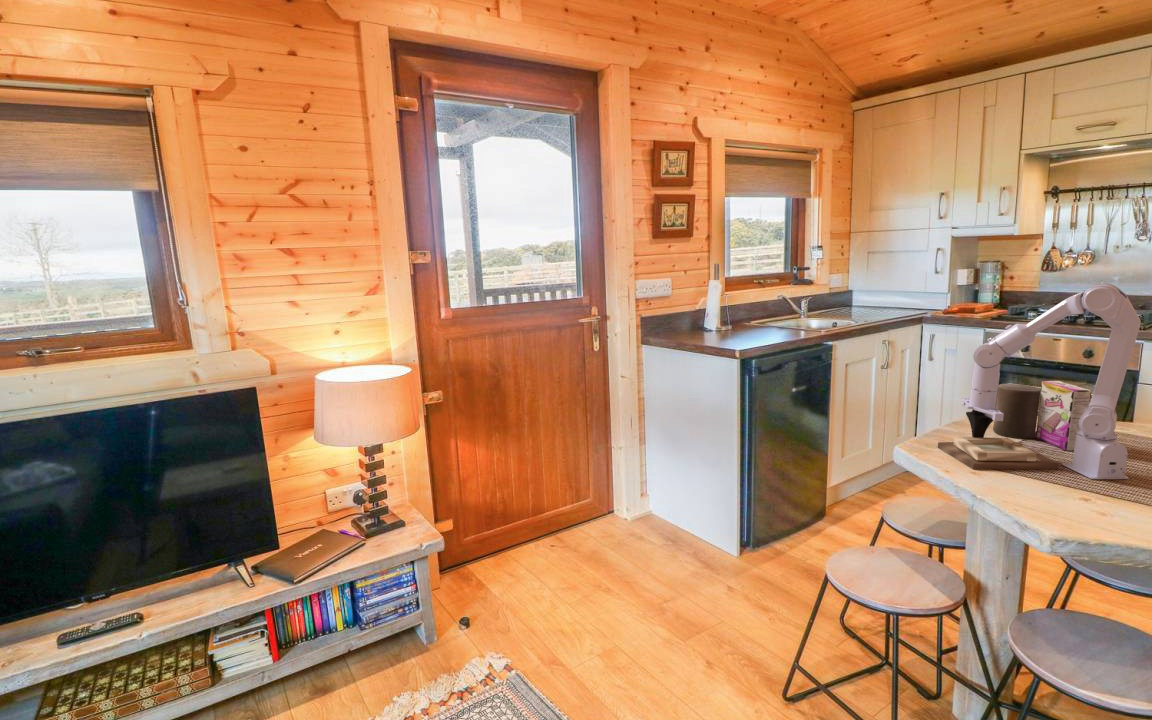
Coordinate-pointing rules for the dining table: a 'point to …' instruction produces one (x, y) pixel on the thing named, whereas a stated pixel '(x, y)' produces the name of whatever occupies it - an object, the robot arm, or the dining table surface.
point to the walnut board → (971, 462)
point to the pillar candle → (1017, 410)
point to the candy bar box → (1061, 413)
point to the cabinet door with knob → (994, 449)
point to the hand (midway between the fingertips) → (977, 439)
